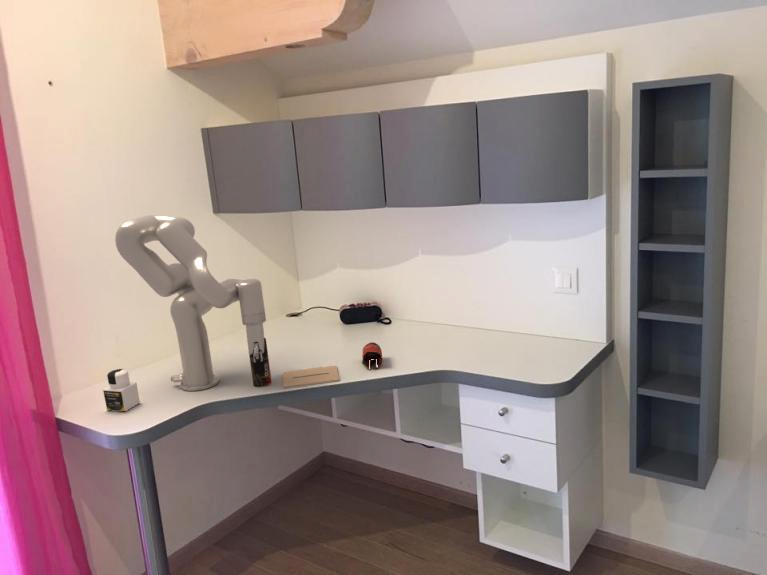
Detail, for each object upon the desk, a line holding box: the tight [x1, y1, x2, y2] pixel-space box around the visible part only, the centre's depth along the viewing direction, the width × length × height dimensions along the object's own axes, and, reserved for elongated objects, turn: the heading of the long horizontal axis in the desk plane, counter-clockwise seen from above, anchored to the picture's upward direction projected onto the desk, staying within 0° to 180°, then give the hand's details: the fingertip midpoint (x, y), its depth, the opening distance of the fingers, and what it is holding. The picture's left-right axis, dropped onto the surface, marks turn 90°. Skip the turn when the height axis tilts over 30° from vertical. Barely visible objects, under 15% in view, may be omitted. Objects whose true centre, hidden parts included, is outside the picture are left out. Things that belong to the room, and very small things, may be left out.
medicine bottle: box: [102, 368, 141, 412], centre depth 204 cm, size 7×7×12 cm
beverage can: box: [361, 342, 384, 370], centre depth 224 cm, size 7×12×7 cm, turn 2°
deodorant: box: [248, 337, 272, 388], centre depth 213 cm, size 6×6×15 cm
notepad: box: [282, 365, 340, 389], centre depth 217 cm, size 18×14×1 cm
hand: (260, 368), depth 214 cm, fingers open, 8 cm apart
